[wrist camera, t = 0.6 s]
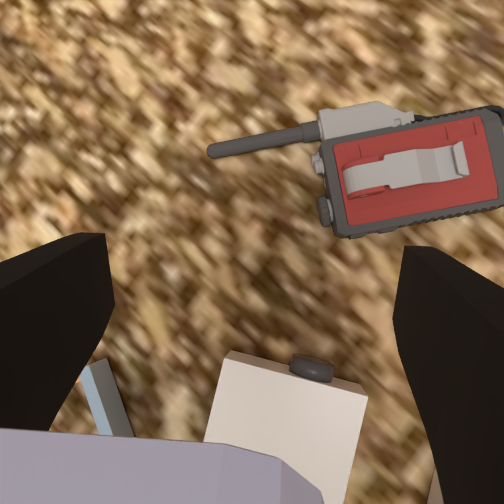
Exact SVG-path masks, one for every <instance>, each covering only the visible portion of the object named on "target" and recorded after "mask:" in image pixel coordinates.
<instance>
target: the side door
mask: <svg viewBox="0 0 504 504" xmlns="http://www.w3.org/2000/svg"><path fill="white" fill-rule="evenodd" d="M80 381H81V382H82V385H83V388H84V391H85V394H86V397H87V400H88V403H89V406H90V409H91V411H92V414H93V417H94V420H95V423H96V426H97V429H98V432H99V435H111V436H125V437H134V435H133V432H132V429H131V426H130V423H129V420H128V417H127V415H126V412H125V409H124V406H123V403H122V400H121V397H120V394H119V392H118V389H117V386H116V383H115V380H114V377H113V374H112V372H111V369H110V366H109V363H108V360H107V358H104V359H102V360H99V361H96V362H94V363H92V364H89V365H86V366H85V368H84V369H83V371H82V373H81V374H80V376H79V378H78V379H77V381H76V383H78V382H80Z"/></svg>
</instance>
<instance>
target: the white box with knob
mask: <svg viewBox="0 0 504 504" xmlns="http://www.w3.org/2000/svg"><path fill="white" fill-rule="evenodd" d="M334 369H335V365H333V364H331V363H329V362H327V361H324V360H321V359H318V358H314V357H311V356H306V355H301V354H293V355H292V359H291V363H290V365H286V364H282V363H278V362H275V361H271V360H267V359H263V358H260V357H256V356H252V355H248V354H245V353H241V352H237V351H233V350H230V352H229V353H228V354H227V355H226V357H225V358H224V361H223V365H222V369H221V373H220V377H219V381H218V385H217V389H216V393H215V397H214V401H213V405H212V409H211V413H210V417H209V421H208V425H207V429H206V433H205V437H204V441H203V442H211V443H225V444H230V445H234V446H237V447H241V448H245V449H249V450H253V451H256V452H260V453H264V454H268V455H272V456H276V457H278V458H280V459H282V460H283V461H284V462H285V463H287V464H288V465H289V466H290V467H292V468H293V469H294V470H295V471H297V472H298V473H299V474H300V475H302V476H303V477H304V478H305V479H307V480H308V481H309V482H310V483H312V484H313V485H314V486H315V487H317V488H318V489H319V490H320V491H321V494H322V497H323V501H324V504H343V502H344V497H345V493H346V489H347V485H348V481H349V476H350V472H351V468H352V464H353V459H354V455H355V451H356V447H357V442H358V438H359V434H360V430H361V426H362V421H363V417H364V413H365V409H366V404H367V400H368V395H367V394H366V392H365V391H364V390H363V388H362V387H361V385H360V384H358V383H354V382H350V381H346V380H343V379H339V378H335V377H333V373H334Z"/></svg>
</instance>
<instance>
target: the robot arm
mask: <svg viewBox="0 0 504 504" xmlns="http://www.w3.org/2000/svg"><path fill="white" fill-rule="evenodd" d="M114 306H115V301H114V294H113V287H112V279H111V272H110V265H109V258H108V251H107V244H106V237H105V233H83V232H81V233H76V234H72V235H69V236H66V237H63V238H60V239H57V240H55V241H52V242H50V243H47V244H45V245H42V246H40V247H37V248H35V249H32V250H30V251H28V252H25V253H23V254H20V255H18V256H15V257H13V258H10V259H8V260H5V261H2V262H0V504H324V501H323V497H322V494H321V491H320V490H319V489H318V488H317V487H315V486H314V485H313V484H312V483H310V482H309V481H308V480H307V479H305V478H304V477H303V476H302V475H300V474H299V473H298V472H297V471H295V470H294V469H293V468H292V467H290V466H289V465H288V464H287V463H285V462H284V461H283V460H282V459H280V458H278V457H276V456H272V455H268V454H264V453H260V452H256V451H253V450H249V449H245V448H241V447H237V446H234V445H230V444H225V443H211V442H197V441H183V440H168V439H154V438H140V437H125V436H111V435H97V434H82V433H68V432H54V431H49V429H50V426H51V424H52V422H53V421H54V419H55V417H56V415H57V413H58V411H59V409H60V408H61V406H62V404H63V403H64V401H65V399H66V398H67V396H68V394H69V393H70V391H71V389H72V388H73V386H74V384H75V383H76V381H77V379H78V378H79V376H80V374H81V373H82V371H83V369H84V368H85V366H86V364H87V362H88V361H89V359H90V357H91V356H92V354H93V352H94V351H95V349H96V347H97V345H98V344H99V342H100V340H101V338H102V336H103V334H104V332H105V329H106V327H107V324H108V322H109V319H110V317H111V314H112V311H113V309H114ZM392 319H393V325H394V331H395V337H396V342H397V347H398V352H399V355H400V359H401V362H402V364H403V367H404V370H405V373H406V376H407V379H408V382H409V385H410V388H411V390H412V393H413V396H414V399H415V402H416V405H417V407H418V410H419V413H420V416H421V419H422V422H423V424H424V427H425V430H426V433H427V436H428V440H429V443H430V446H431V450H432V454H433V458H434V462H435V467H436V471H437V476H438V480H439V484H440V489H441V493H442V498H443V503H444V504H504V288H502V287H501V286H499V285H497V284H495V283H494V282H492V281H490V280H489V279H487V278H485V277H484V276H482V275H480V274H479V273H477V272H475V271H474V270H472V269H470V268H469V267H467V266H465V265H464V264H462V263H461V262H459V261H457V260H456V259H454V258H452V257H451V256H449V255H447V254H445V253H444V252H442V251H440V250H438V249H436V248H433V247H428V246H404V252H403V258H402V264H401V270H400V276H399V282H398V288H397V294H396V300H395V306H394V312H393V318H392Z"/></svg>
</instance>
